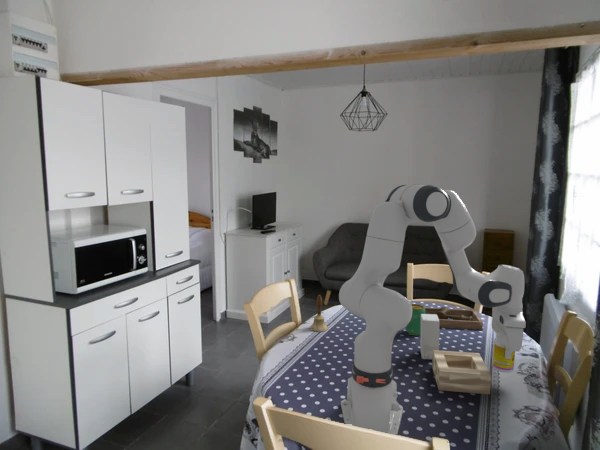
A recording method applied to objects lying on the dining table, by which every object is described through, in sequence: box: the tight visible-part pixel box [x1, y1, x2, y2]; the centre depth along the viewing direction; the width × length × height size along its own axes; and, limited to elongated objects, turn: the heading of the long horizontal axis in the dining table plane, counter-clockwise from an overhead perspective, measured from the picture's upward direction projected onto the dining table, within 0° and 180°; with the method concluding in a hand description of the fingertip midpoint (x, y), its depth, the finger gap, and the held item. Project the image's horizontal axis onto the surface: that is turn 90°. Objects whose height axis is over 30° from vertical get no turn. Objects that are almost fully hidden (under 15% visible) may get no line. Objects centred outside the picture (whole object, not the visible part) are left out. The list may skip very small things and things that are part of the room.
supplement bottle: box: [491, 331, 516, 374], centre depth 140 cm, size 7×7×13 cm
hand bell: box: [309, 294, 329, 333], centre depth 189 cm, size 8×8×16 cm
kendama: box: [429, 306, 474, 321], centre depth 197 cm, size 6×10×20 cm
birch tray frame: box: [431, 349, 492, 395], centre depth 144 cm, size 16×16×7 cm
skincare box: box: [419, 314, 440, 361], centre depth 162 cm, size 8×7×16 cm
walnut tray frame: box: [424, 306, 484, 331], centre depth 198 cm, size 16×26×4 cm, turn 80°
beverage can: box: [405, 303, 426, 337], centre depth 184 cm, size 8×8×12 cm
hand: (503, 352), depth 140 cm, fingers closed on supplement bottle, 7 cm apart
